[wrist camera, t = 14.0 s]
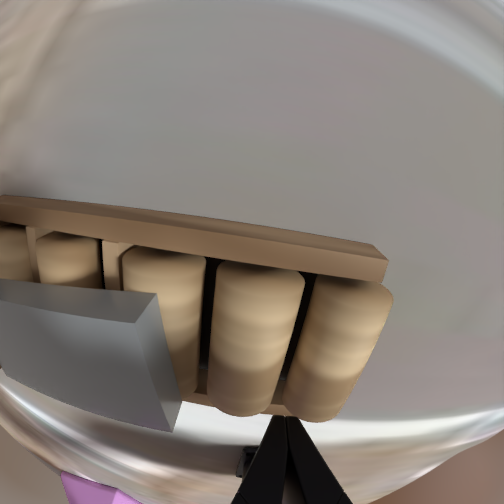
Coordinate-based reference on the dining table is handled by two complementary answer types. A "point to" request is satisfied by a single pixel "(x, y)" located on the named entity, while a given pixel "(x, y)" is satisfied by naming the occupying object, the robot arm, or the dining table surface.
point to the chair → (92, 492)
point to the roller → (69, 260)
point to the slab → (90, 350)
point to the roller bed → (229, 299)
